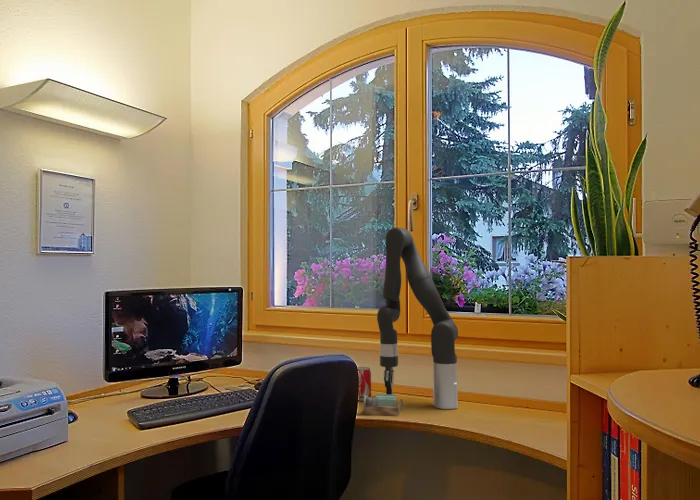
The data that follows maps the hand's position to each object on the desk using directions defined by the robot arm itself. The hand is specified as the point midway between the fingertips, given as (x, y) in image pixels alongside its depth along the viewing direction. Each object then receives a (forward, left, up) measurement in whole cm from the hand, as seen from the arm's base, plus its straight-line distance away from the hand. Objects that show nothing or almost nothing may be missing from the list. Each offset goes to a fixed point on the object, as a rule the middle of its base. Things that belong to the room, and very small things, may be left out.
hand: (389, 396), depth 225 cm
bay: (+1, +16, -2) cm, 16 cm away
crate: (0, +10, -2) cm, 10 cm away
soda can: (+11, +1, -2) cm, 11 cm away
